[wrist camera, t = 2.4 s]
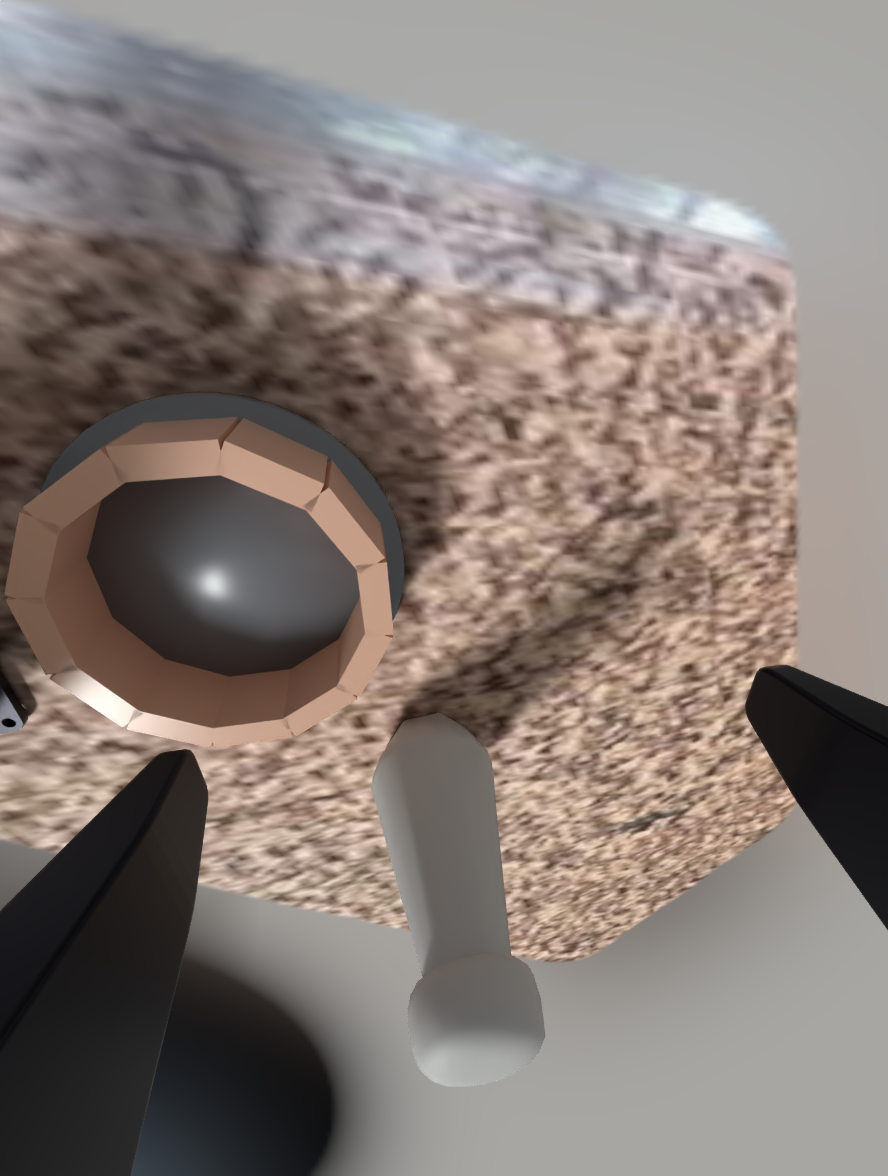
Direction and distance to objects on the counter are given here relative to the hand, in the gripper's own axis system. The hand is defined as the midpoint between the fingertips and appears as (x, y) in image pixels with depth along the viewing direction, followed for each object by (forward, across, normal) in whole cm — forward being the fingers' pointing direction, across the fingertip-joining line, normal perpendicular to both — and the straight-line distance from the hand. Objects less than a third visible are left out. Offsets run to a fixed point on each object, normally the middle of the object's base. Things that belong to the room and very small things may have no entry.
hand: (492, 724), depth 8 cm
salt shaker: (+13, 0, +14) cm, 19 cm away
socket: (+13, +7, +3) cm, 15 cm away
